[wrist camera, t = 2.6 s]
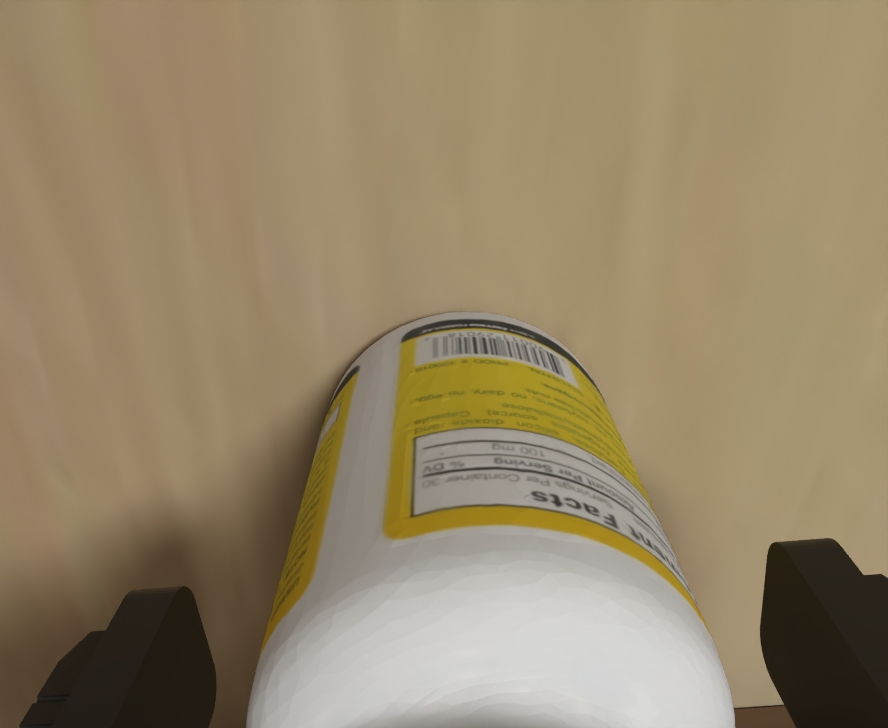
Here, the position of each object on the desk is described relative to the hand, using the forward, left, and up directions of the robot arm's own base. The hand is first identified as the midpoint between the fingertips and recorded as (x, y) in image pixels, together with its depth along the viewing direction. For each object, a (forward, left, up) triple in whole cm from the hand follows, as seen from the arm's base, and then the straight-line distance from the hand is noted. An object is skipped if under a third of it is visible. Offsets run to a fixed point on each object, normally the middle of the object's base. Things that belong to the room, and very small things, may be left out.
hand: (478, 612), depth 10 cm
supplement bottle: (0, 0, -5) cm, 5 cm away
